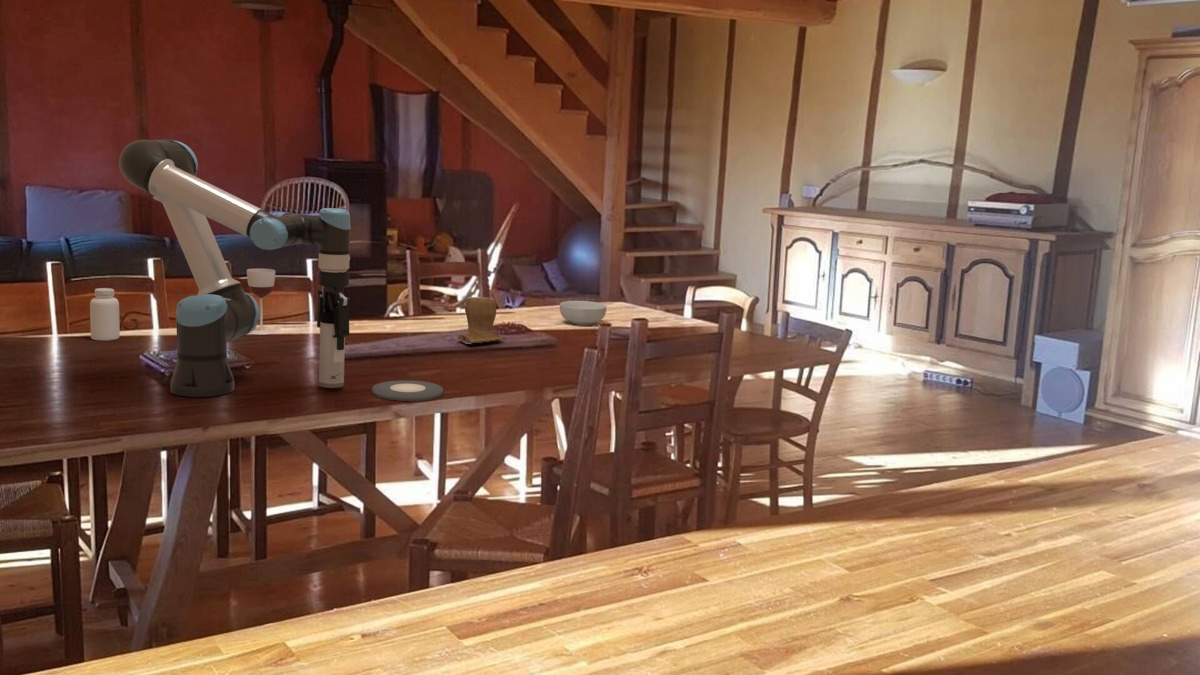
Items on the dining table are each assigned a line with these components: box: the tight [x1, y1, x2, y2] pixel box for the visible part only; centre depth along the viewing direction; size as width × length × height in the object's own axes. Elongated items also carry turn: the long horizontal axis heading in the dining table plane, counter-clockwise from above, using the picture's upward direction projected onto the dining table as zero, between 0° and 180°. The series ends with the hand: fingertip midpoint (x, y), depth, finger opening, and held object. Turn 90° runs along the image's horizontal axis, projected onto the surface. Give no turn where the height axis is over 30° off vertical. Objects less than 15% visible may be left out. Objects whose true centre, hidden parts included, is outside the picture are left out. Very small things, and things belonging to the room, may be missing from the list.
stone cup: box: [457, 296, 504, 343], centre depth 351 cm, size 15×12×15 cm
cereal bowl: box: [559, 300, 607, 326], centre depth 396 cm, size 17×17×7 cm
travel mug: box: [318, 311, 346, 389], centre depth 279 cm, size 6×7×20 cm
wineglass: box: [246, 268, 276, 335], centre depth 347 cm, size 8×9×20 cm
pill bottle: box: [89, 287, 121, 342], centre depth 326 cm, size 8×8×15 cm
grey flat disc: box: [371, 379, 444, 403], centre depth 282 cm, size 18×18×1 cm
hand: (332, 359), depth 280 cm, fingers closed on travel mug, 6 cm apart
